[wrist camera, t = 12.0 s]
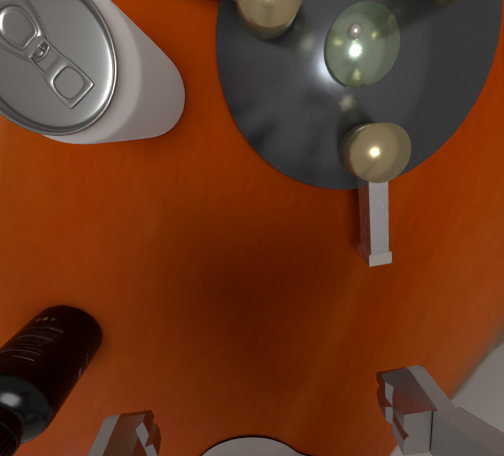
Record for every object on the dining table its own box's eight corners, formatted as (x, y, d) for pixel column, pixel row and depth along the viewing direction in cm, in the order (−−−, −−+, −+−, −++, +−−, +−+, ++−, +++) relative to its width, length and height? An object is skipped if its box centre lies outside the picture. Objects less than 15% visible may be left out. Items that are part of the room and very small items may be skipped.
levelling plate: (470, 163, 24) (500, 168, 22) (244, 204, 25) (244, 213, 22) (499, -156, 18) (548, -209, 15) (188, -93, 18) (178, -133, 15)
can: (142, 23, 20) (16, -112, 9) (203, 100, 22) (165, 70, 11) (82, 86, 21) (-97, 39, 10) (145, 154, 23) (55, 179, 12)
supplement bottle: (109, 356, 30) (30, 495, 19) (44, 360, 30) (-76, 503, 18) (94, 301, 28) (-7, 422, 16) (24, 305, 27) (-128, 430, 16)
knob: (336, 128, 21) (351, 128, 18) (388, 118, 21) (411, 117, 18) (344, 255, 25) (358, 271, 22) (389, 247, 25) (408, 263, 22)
